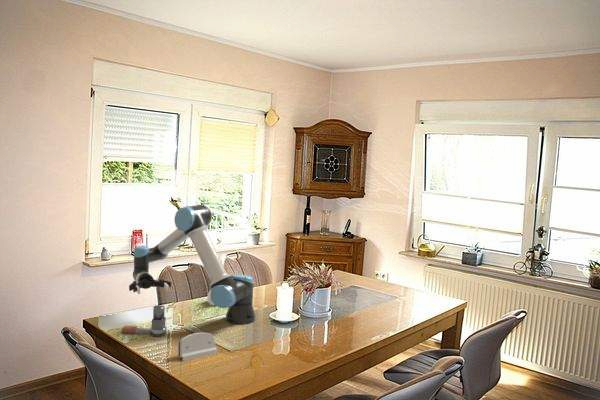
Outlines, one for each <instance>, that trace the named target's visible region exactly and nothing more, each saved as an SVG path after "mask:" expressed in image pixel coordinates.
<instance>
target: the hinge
mask: <svg viewBox="0 0 600 400" xmlns="http://www.w3.org/2000/svg"><path fill="white" fill-rule="evenodd" d="M216 354H219V351H218V348H217V346H216V342H215V338H214V334H212V333H208V332H195V333H191V334H188V335H185V336H183V337H182V338H179V340H178V341H177V358H182V361H183V362H185V361H190V360H193V359H194V360H195V359H199V358H202V357H203V358H204V357H207V356H213V355H216Z"/></svg>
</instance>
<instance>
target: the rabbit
mask: <svg viewBox="0 0 600 400" xmlns="http://www.w3.org/2000/svg"><path fill="white" fill-rule="evenodd" d="M209 287H210V286H209ZM211 290H212V289H211V287H210V290H209V291H208V293H207V297H206V298H207V302H208V304H209V305H211V306H216V305H215V304H214V303H213V302H212V300H211V297H210V294H211Z"/></svg>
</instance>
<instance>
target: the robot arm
mask: <svg viewBox="0 0 600 400" xmlns="http://www.w3.org/2000/svg"><path fill="white" fill-rule="evenodd" d="M212 219H213V215H212V211H211V209H210V208H209V207H208V206H206V205H204V204H196V205H187V206H186V205H185V206H183V207H181V208H179V209H178V210H177V211H176V212H175V215H174V220H173V221H174V224H175V227H176V229H175V230H174V231H172V232H171V233H170V234H169V235H167V236H166V237H165V238H163V239H162V240H161V241H160V242H159V243H158V244H156V245H155V246H153V247H150V248H149V246H147V245H137V246H134V250H133V271H132V278H133V281H132V283H130V284H129V286H128V290H129V292H131V291H133V293H137V294H138V295H140V294H141V289H144V290H147V289H150V288H152V287H153V288H156V287H157V288H158V287H159V288H163V289H165V291H166V292H170V288H171V287H172V282H171V281H169V280H164V279H162V278H158V279H154V277H153V276H152V274H150V271H149V266H150V263H153V262H158V261H161V260H164V259H166V258H167V257H168V255H169V253H170V252H172V251H173V250H175V249H176V248H178V247H179V246H180V245H181V244H182V243H183V242H185V241H186V240H188V239H190V241H191V243H192V245H193V246H194V249H195V251H196V253H197V255H198V258H199V259H200V261H201V263H202V265H203V267H204V269H205V272H206V274H207V275H208V278H209V279H210V283H209V287H211V288H210V290H211V289H212V290H211V294H210V297H211V300H212V302H213V303H214V304H215V305H214V306H216V307H217V308H220V309H227V308H228V309H227V311H226V314H225V320H226V322H228V323H230V324H231V323H232V324H238V325H242V324H243V325H244V324H252V323H253V322H255V321H256V313H255V310H254V307H253V303H254V302H253V299H254V278H253V277H252V275H246V274H230V273H228V272H227V270H226V269H225V266H224V264H223V262H222V260H221V259H220V256H219V254H218V252H217V250H216V248H215V246H214V244H213V242H212V240H211V238H210V236H209V234H208V232H207V229H208V226H209V225H210V223H211V222H212Z"/></svg>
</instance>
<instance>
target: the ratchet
mask: <svg viewBox="0 0 600 400" xmlns="http://www.w3.org/2000/svg"><path fill="white" fill-rule="evenodd" d="M121 334H122V335H123V334H124V335H125V334H126V335H147V336H149V335H150V336H151V337H154V338H159V337H160V338H161V337H165V336H166V335H167V327H166V326H165V327H164V329H163V330H154V329H152V326H151V327H150V328H149V327H148V328H147V327H138V326H135V325H134V326H133V325H132V326H131V325H124V326H122V327H121Z"/></svg>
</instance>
